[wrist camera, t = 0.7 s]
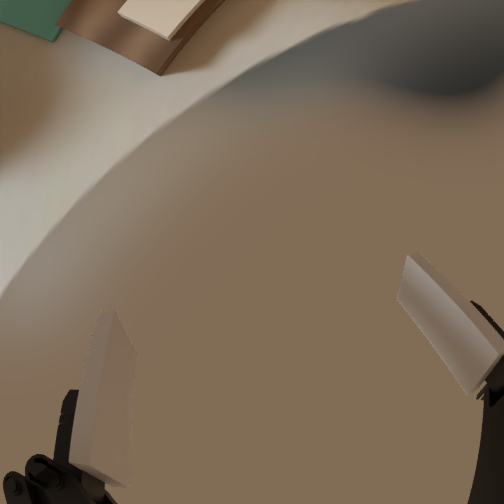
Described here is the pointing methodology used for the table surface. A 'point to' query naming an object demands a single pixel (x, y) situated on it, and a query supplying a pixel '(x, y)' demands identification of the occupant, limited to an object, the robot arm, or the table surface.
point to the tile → (160, 14)
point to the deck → (131, 31)
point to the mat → (34, 16)
